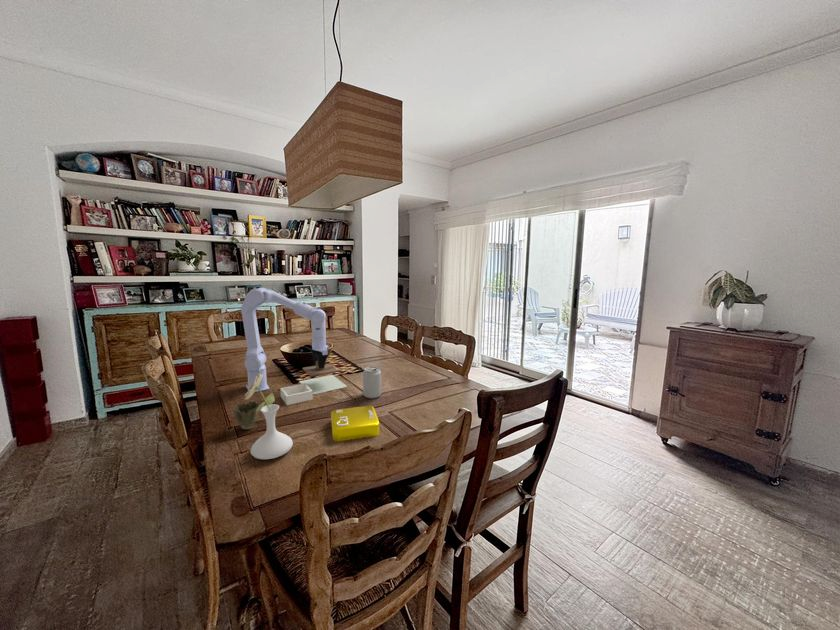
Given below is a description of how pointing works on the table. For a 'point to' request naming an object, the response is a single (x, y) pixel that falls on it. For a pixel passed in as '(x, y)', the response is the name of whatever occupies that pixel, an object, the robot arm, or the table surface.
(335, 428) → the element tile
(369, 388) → the can
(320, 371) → the lid
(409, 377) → the table surface
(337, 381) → the mat
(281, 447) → the flower in vase
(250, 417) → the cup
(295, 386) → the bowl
